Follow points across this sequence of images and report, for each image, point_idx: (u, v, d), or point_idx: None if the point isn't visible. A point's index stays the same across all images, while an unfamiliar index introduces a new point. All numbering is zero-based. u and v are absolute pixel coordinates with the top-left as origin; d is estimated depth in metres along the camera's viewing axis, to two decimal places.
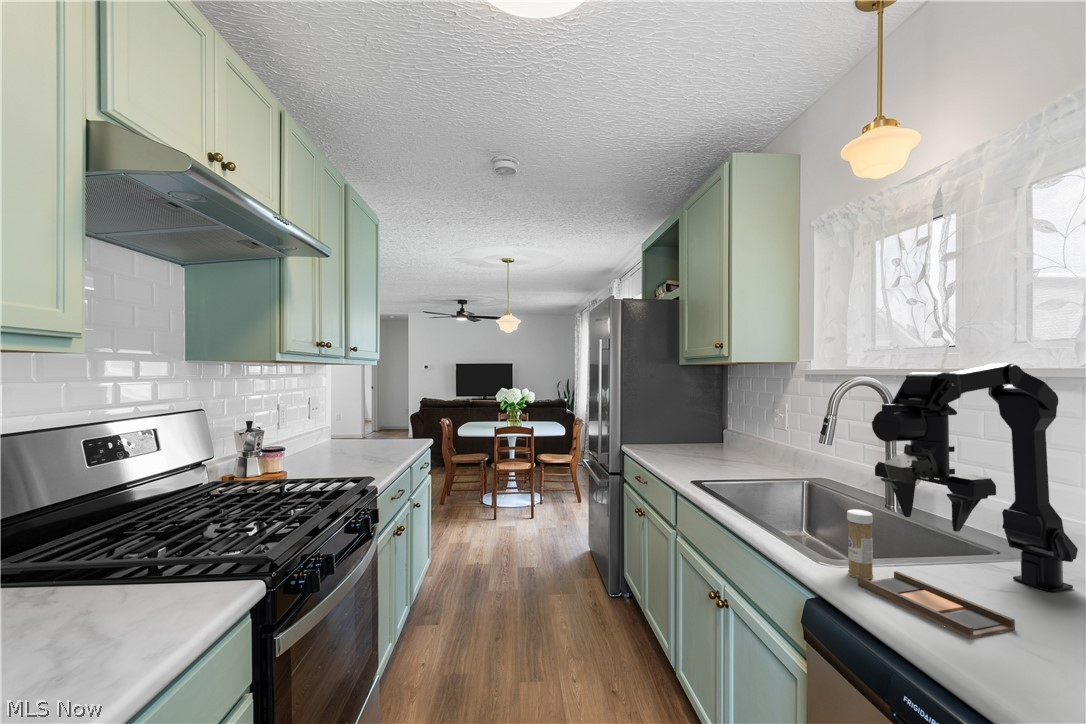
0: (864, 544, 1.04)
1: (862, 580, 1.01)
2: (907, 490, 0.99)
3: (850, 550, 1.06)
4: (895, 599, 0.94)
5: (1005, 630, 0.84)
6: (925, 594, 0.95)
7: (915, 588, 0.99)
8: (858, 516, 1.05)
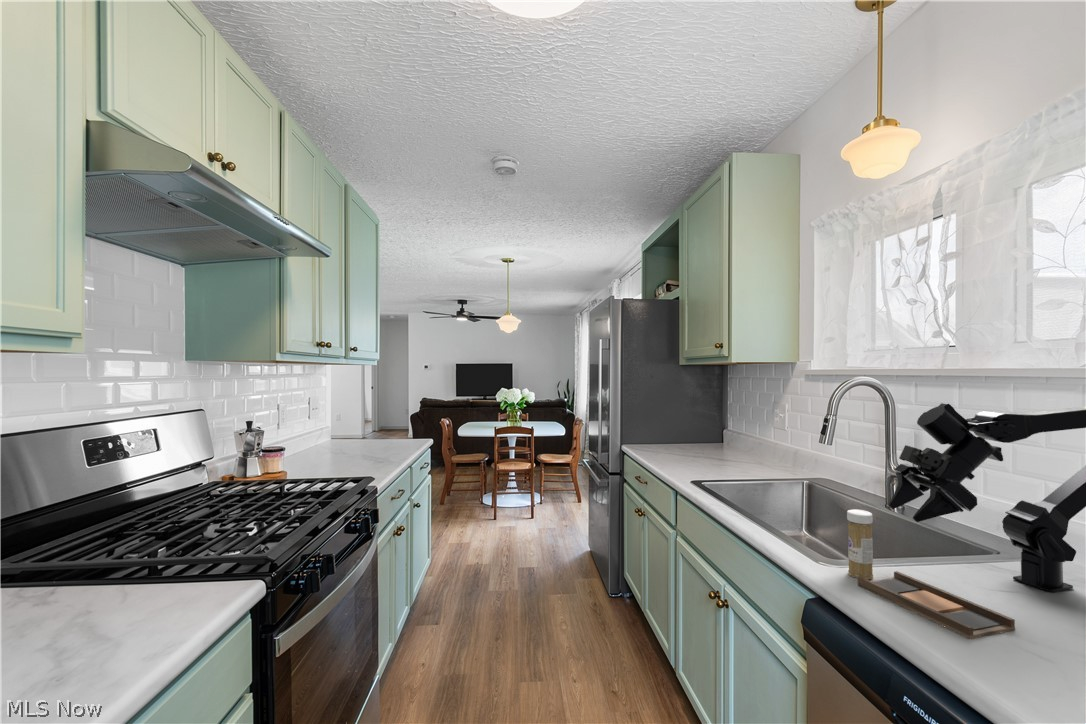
0: (864, 544, 1.04)
1: (862, 580, 1.01)
2: (908, 492, 1.09)
3: (850, 550, 1.06)
4: (895, 599, 0.94)
5: (1005, 630, 0.84)
6: (925, 594, 0.95)
7: (915, 588, 0.99)
8: (858, 516, 1.05)
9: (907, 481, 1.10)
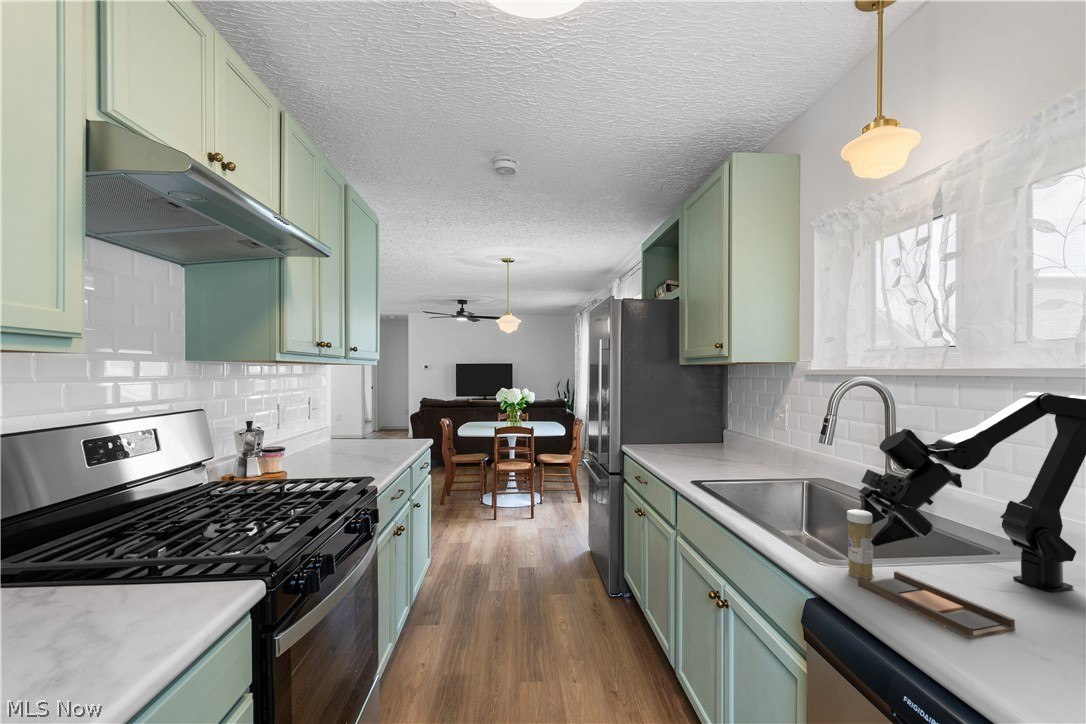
0: (864, 544, 1.04)
1: (862, 580, 1.01)
2: None
3: (850, 550, 1.06)
4: (895, 599, 0.94)
5: (1005, 630, 0.84)
6: (925, 594, 0.95)
7: (915, 588, 0.99)
8: (858, 516, 1.05)
9: (870, 504, 1.11)
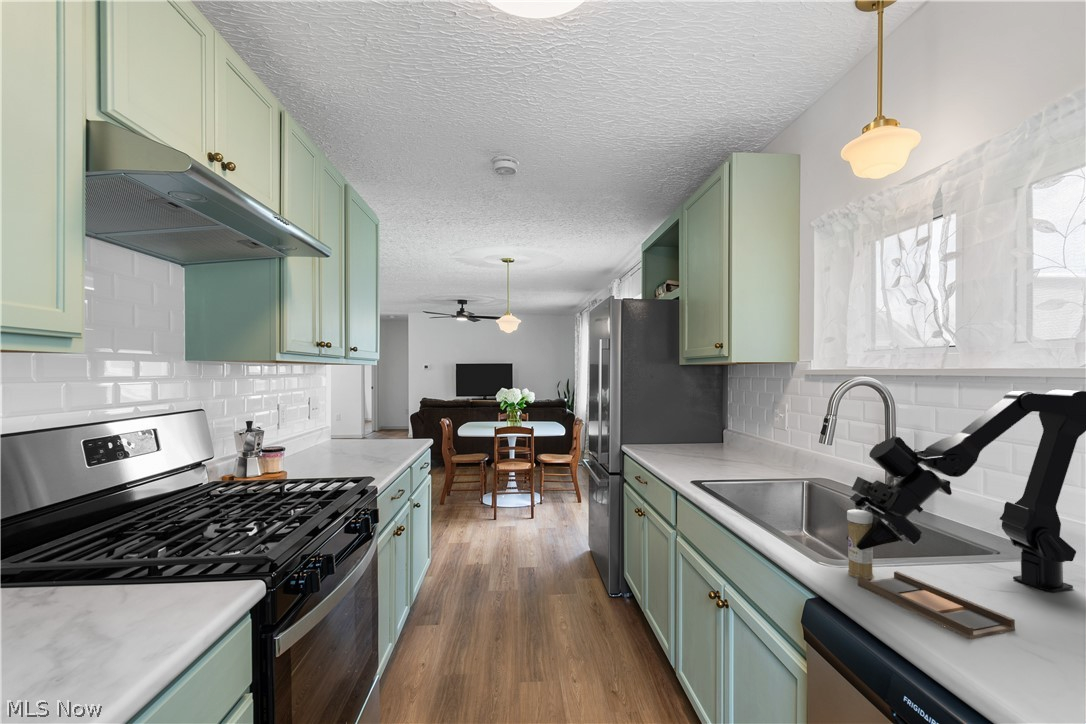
0: None
1: (862, 580, 1.01)
2: None
3: (850, 550, 1.06)
4: (895, 599, 0.94)
5: (1005, 630, 0.84)
6: (925, 594, 0.95)
7: (915, 588, 0.99)
8: (858, 516, 1.05)
9: None
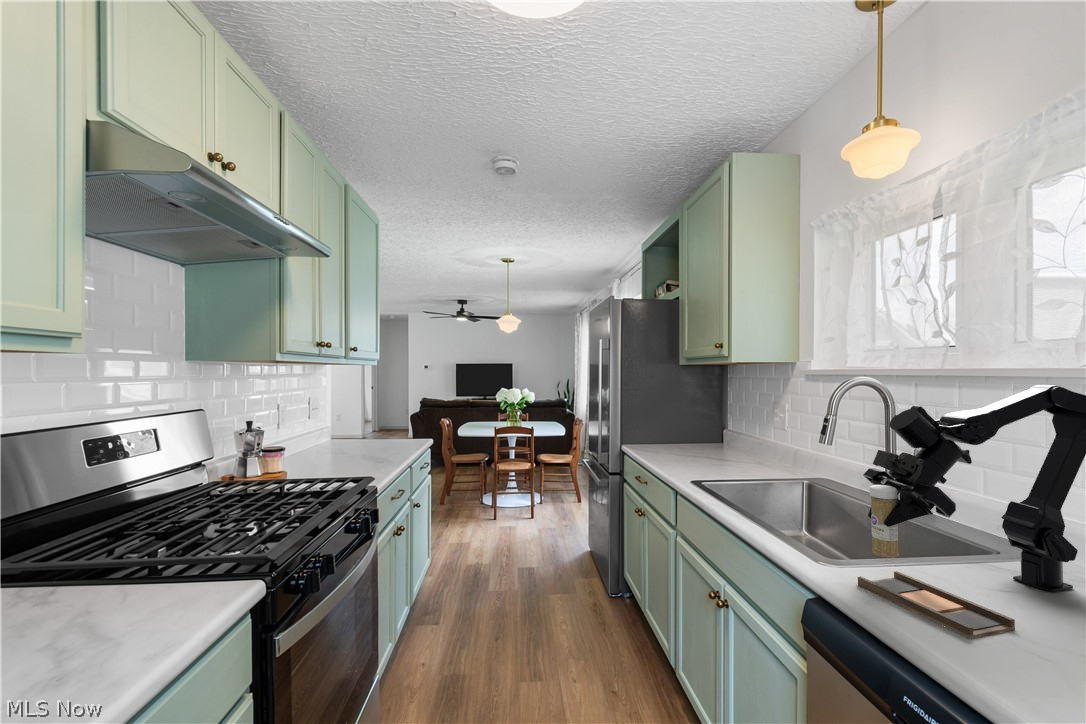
0: None
1: (862, 580, 1.01)
2: None
3: (875, 528, 1.01)
4: (895, 599, 0.94)
5: (1005, 630, 0.84)
6: (925, 594, 0.95)
7: (915, 588, 0.99)
8: (884, 491, 0.99)
9: None
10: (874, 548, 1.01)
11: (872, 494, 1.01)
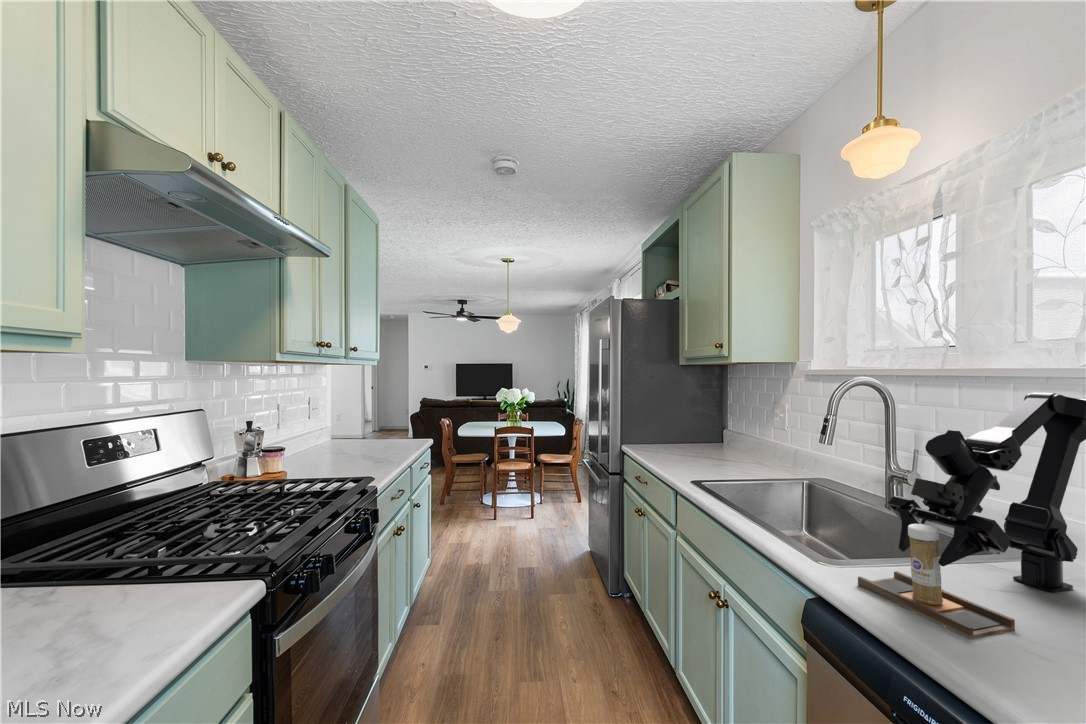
0: (936, 564, 0.91)
1: (862, 580, 1.01)
2: None
3: (919, 573, 0.92)
4: (895, 599, 0.94)
5: (1005, 630, 0.84)
6: None
7: None
8: (928, 532, 0.91)
9: (913, 518, 0.98)
10: (918, 595, 0.92)
11: (914, 536, 0.92)
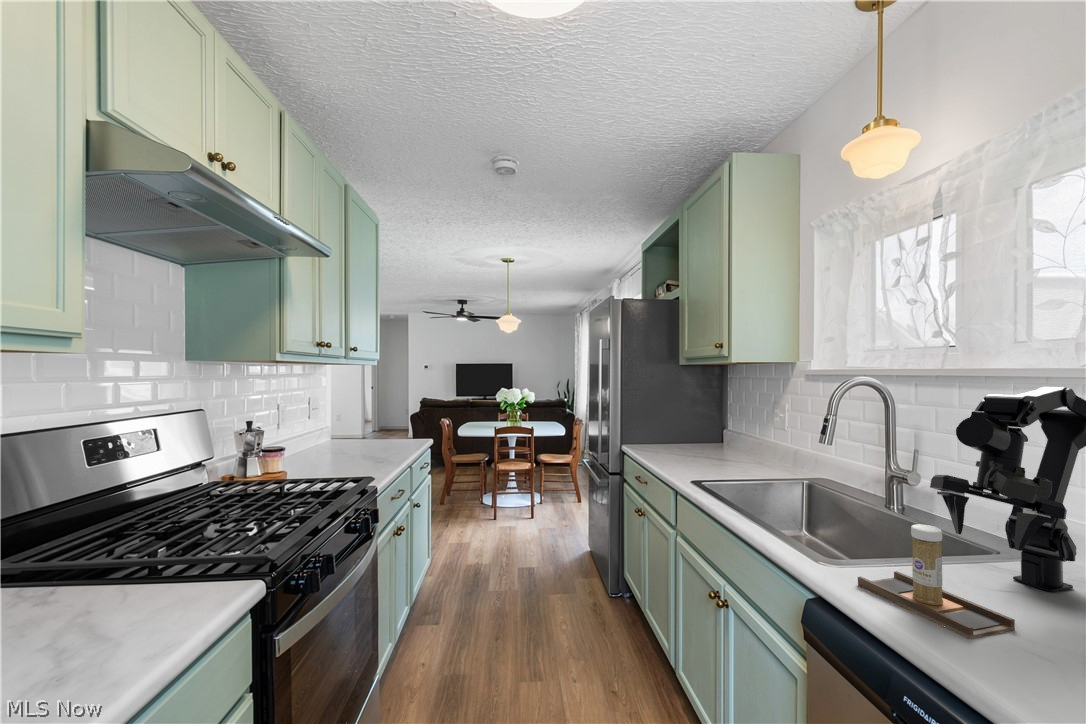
0: (938, 565, 0.91)
1: (862, 580, 1.01)
2: None
3: (920, 573, 0.92)
4: (895, 599, 0.94)
5: (1005, 630, 0.84)
6: None
7: None
8: (932, 533, 0.91)
9: None
10: (918, 595, 0.92)
11: (917, 536, 0.92)
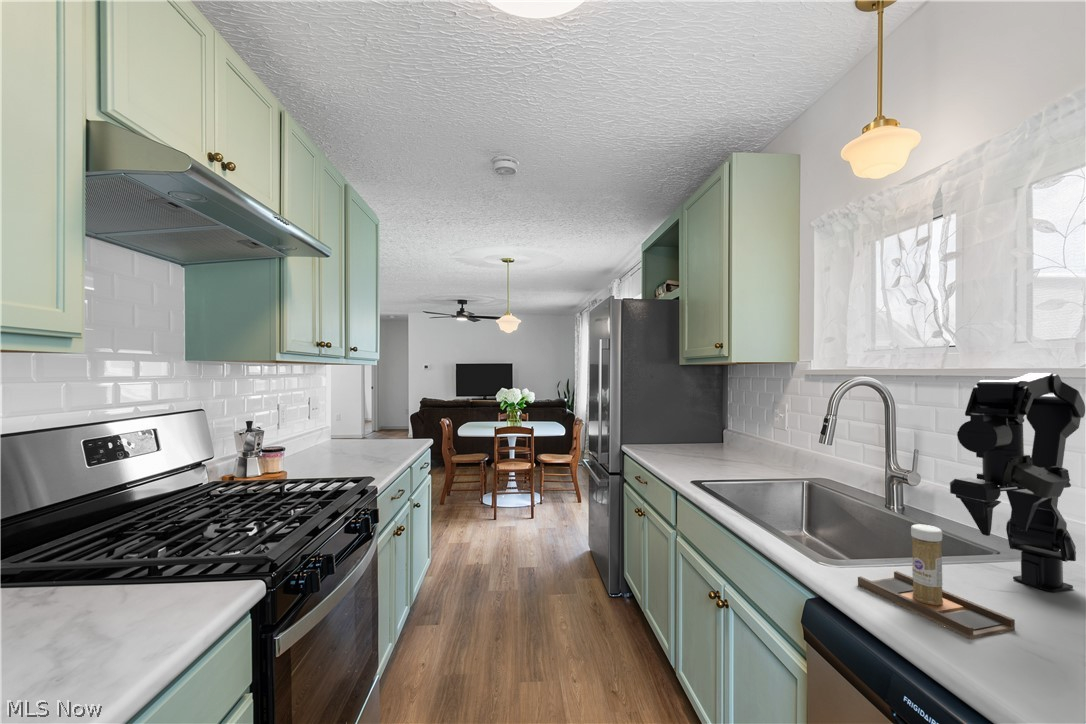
0: (938, 565, 0.91)
1: (862, 580, 1.01)
2: None
3: (920, 573, 0.92)
4: (895, 599, 0.94)
5: (1005, 630, 0.84)
6: None
7: None
8: (932, 533, 0.91)
9: None
10: (918, 595, 0.92)
11: (917, 536, 0.92)
